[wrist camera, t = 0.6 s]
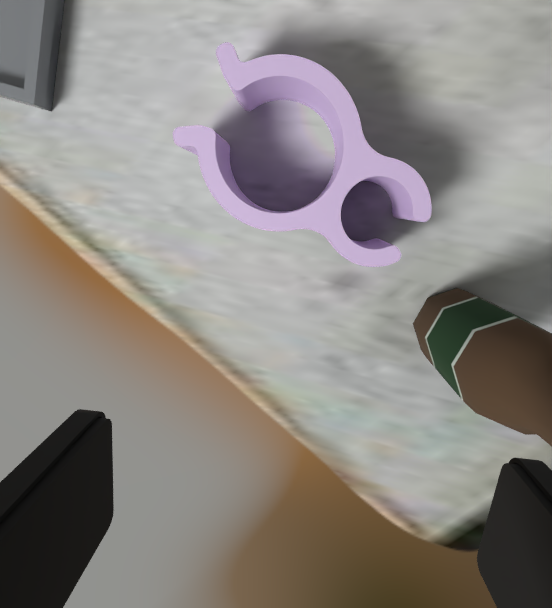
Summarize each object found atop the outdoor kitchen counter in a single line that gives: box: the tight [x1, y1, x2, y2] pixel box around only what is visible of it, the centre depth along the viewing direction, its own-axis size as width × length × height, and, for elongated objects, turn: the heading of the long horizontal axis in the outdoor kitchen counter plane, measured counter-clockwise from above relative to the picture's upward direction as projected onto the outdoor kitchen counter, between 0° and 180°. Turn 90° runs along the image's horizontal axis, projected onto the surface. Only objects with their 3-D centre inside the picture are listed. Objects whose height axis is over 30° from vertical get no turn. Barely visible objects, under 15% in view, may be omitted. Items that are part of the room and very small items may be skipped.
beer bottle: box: [413, 288, 552, 446], centre depth 28 cm, size 8×8×24 cm
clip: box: [173, 42, 431, 267], centre depth 33 cm, size 20×12×7 cm, turn 57°
